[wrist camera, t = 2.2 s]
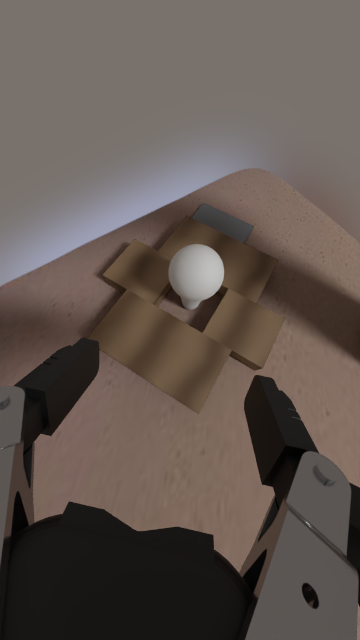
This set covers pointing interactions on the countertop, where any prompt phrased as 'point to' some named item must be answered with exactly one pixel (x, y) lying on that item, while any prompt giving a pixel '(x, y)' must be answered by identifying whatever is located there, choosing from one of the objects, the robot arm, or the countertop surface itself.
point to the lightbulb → (196, 274)
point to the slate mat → (223, 222)
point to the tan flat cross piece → (173, 334)
